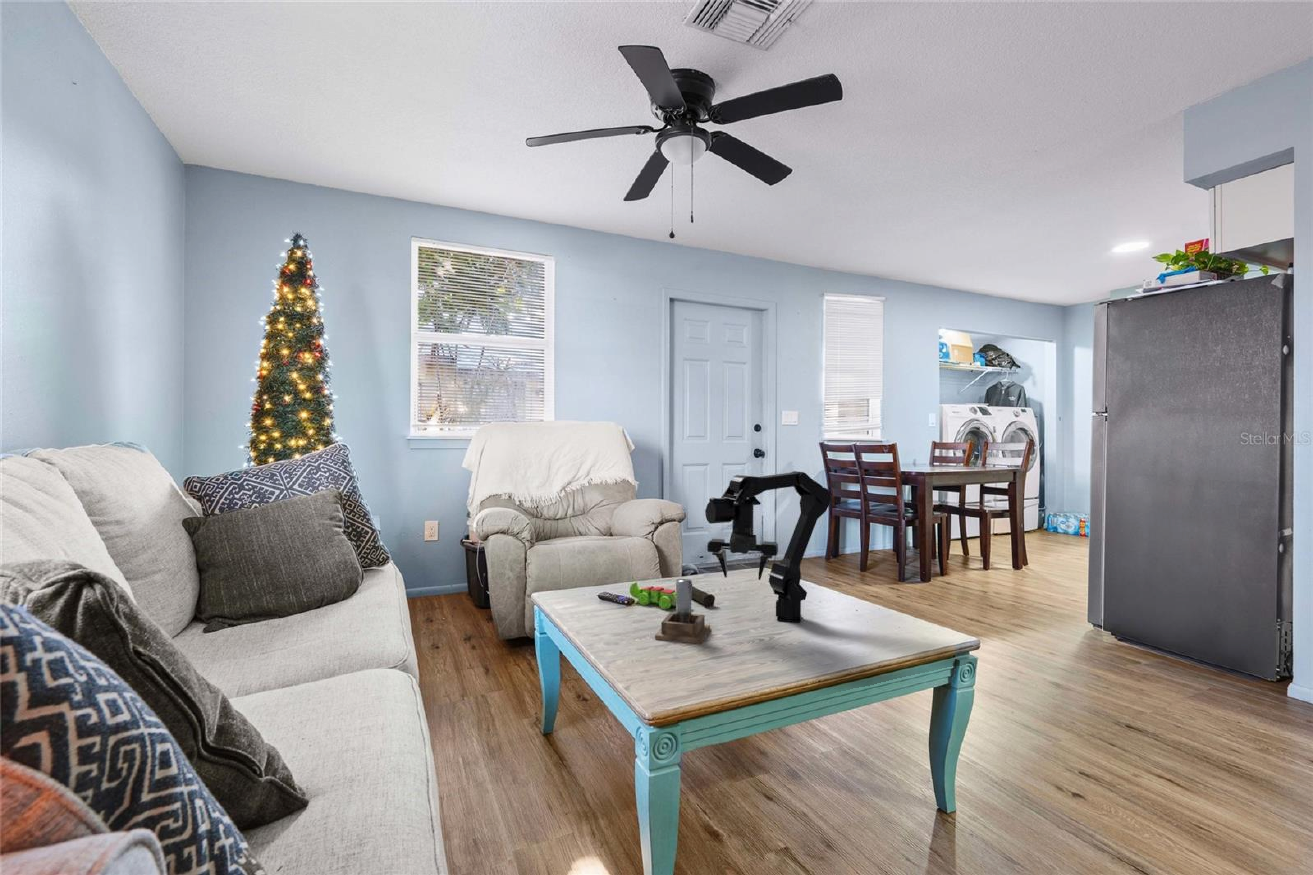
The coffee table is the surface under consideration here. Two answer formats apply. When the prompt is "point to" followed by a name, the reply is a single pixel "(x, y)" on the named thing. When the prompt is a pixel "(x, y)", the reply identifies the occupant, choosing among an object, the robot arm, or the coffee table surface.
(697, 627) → the walnut box
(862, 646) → the coffee table surface
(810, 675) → the coffee table surface
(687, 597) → the steel pin
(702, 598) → the hand tool
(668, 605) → the toy crocodile
